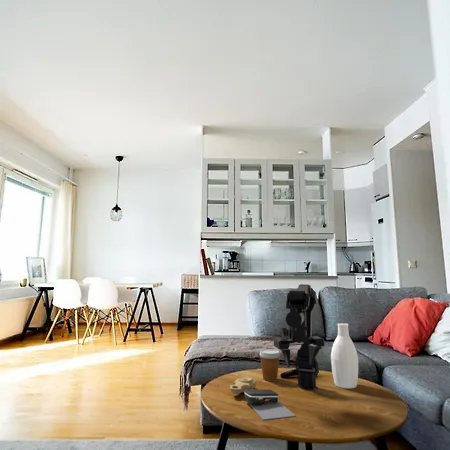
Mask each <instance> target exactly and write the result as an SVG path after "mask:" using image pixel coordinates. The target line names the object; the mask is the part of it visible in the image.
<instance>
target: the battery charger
mask: <svg viewBox="0 0 450 450" xmlns="http://www.w3.org/2000/svg"><path fill="white" fill-rule="evenodd" d="M244 400H245V401H246V402H248V404H249V403H250V404H253V405H262V404H263V402H265V401H266V400H270V401H274V402H278V401H279V394H278V392H276V391H274V390H272V389H262V388H261V389H257V388H256V389H255V388H254V389H247V390H245V393H244Z"/></svg>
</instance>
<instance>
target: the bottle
mask: <svg viewBox="0 0 450 450" xmlns="http://www.w3.org/2000/svg"><path fill="white" fill-rule="evenodd" d="M349 333H350V332H349V323H345V322H341V323H340V322H339V323H337V336H336V338H335V340H334V342H333V343H332V347H331V354H330V362H331V373H332V377H333V382H334V383H333V384H334V385H335V386H336V387H338V388H341V389H348V390H349V389H350V390H351V389H355V388H357V386H358V378H359V358H358V357H359V355H358V352H357V349H356V346H355V344H354V342H353V340H352V338H351V337H350V334H349Z"/></svg>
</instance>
